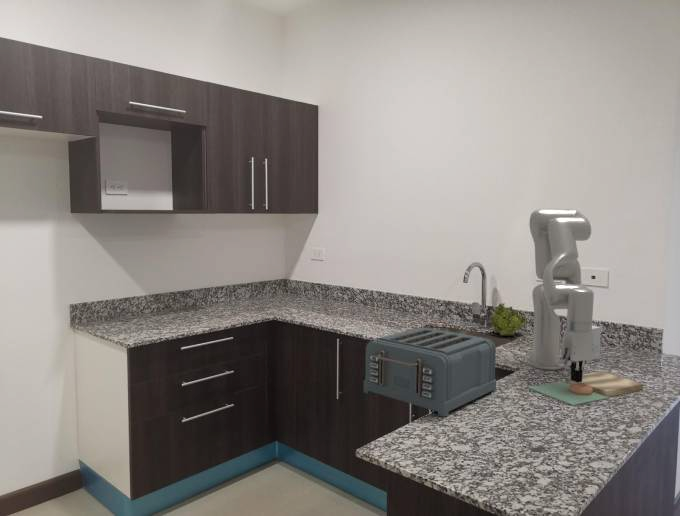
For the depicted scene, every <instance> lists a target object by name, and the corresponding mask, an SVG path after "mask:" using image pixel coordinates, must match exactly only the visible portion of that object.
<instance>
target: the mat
mask: <svg viewBox="0 0 680 516" xmlns="http://www.w3.org/2000/svg"><path fill="white" fill-rule="evenodd" d="M569 385H571V384H569V383H566V382H565V381H558V382H557V381H556V382H552V383H546V384H541V385H534V386H529V387H528V390H531V391H534V392H535V393H536V392H537V393H539V394H542V395H544V396H547V397H549V398H551V399H554V400H557V401H560V402H562V403H564V404H565V403H566V404H568V405H570V406H572V407H575V406H580V405H583V404H589V403H593V402H598V401H604V400H608V399H610V397H607V396H604V395H601V394H598V393H595V392H593V393H592V394H590V395H579V394H574V393H572V392H570V391H569Z"/></svg>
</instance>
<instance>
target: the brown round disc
mask: <svg viewBox="0 0 680 516" xmlns="http://www.w3.org/2000/svg"><path fill="white" fill-rule="evenodd" d="M569 391H570V392H572V393H574V394H579V395H590V394H592V393H593V388H592V387H591V386H588V385H584V384H571V385H569Z"/></svg>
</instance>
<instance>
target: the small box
mask: <svg viewBox="0 0 680 516" xmlns="http://www.w3.org/2000/svg"><path fill="white" fill-rule="evenodd" d="M601 333H602V326H597V325H592V334H593V355H592V358H591V359H590V361H593V360H599V359H600V355H601V354H600V353H601V335H602V334H601ZM598 358H599V359H598Z"/></svg>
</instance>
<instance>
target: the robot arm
mask: <svg viewBox="0 0 680 516" xmlns="http://www.w3.org/2000/svg"><path fill="white" fill-rule="evenodd" d="M528 225H529V231H530V235H531V236H532V240H533V244H534V256H535V257H534V259H535V261H534V262H535V275H536V277H537V278H538V279H539V280H542V283H541V284H537V285H536V286H535V287H533V289H532V294H531V295H532V297H531V298H532V303H533V340H532V341H533V342H532V350H530V349H529V350H528V351H527V352H526V354H525V355H526V356H528V357H530V359H529V360H528V361H527V364H528V366H530V367H532V368H534V369H535V368H536V369H540V370H547V371H557V370H561V369H563V368H564V366H565V365H566V366H568V367H569V369H570V377H571V380H572V381H575V382H582V375H583V373H584V369H585V367H586V366H585V365H586V364H588V363H591V362H590V361H591V360H590V359H591V358H592V355H593V334H592V326H593V313H594V298H595V297H594V296H595V294H594V291H593V290H592V289H591V288H588V287H587V286H586V285H584V284H582V275H581V274H582V271H581V265H580V262H579V260H578V258H579V253H578V252H579V251H578V247H577V246H578V245H577V242H578V241H579V242H581V241H582V242H583V241H588V240H589V239H590V237H591V235H592V226H591V222H590V220H589V219H588V217H586V216H585V215H584V214H583V213H581V212H580V211H579V210H577V209H574V208H540V209H536V210H534V211H533V212H532V213H531V214H530V216H529V224H528ZM576 241H577V242H576ZM555 281H556V282H557V281H561V282H562V281H563V282H565V283H555ZM555 310H567V312H566V313H567V314H566V329H564V332H563V336H562V337H563V338H562V341H561V325H562V323H561V319H560V317H559V316H558V314H557V313H556V312H555ZM560 341H561V343H560ZM560 345H561V346H560ZM560 347H561V349H560ZM560 358H561V359H563V360H564V361H563V362H561V361H560Z"/></svg>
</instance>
